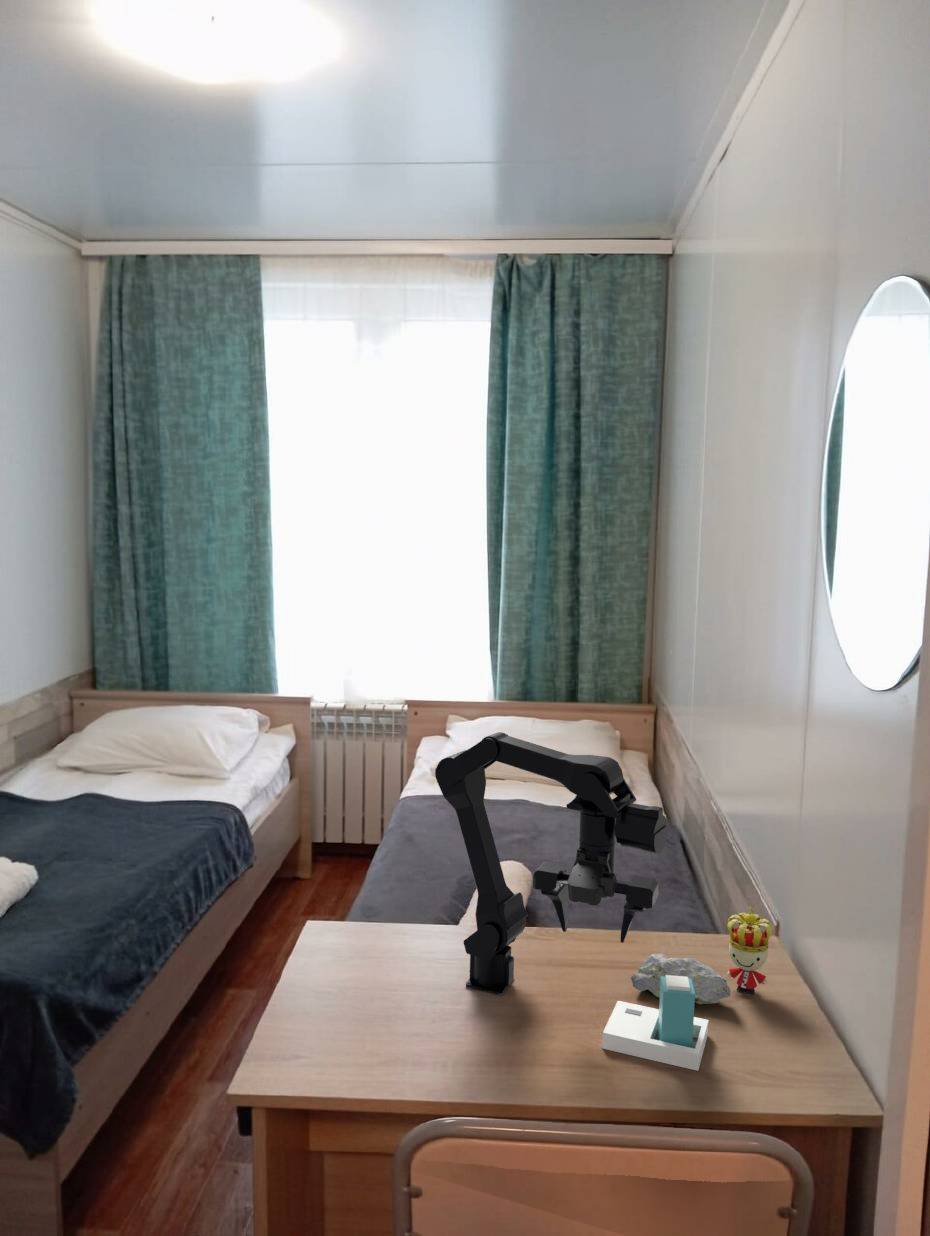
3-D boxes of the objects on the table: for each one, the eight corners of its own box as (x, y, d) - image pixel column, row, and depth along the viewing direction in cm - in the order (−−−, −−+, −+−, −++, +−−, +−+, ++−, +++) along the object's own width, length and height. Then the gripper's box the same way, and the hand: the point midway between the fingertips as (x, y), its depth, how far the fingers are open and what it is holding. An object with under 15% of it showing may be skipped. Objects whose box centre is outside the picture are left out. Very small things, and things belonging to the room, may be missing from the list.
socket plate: (602, 1048, 141) (602, 1031, 141) (617, 1015, 150) (617, 999, 150) (698, 1070, 136) (699, 1053, 136) (707, 1035, 145) (708, 1019, 145)
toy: (720, 996, 157) (726, 909, 155) (726, 976, 164) (731, 893, 162) (766, 1005, 154) (771, 917, 153) (769, 985, 161) (775, 900, 159)
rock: (735, 997, 157) (737, 958, 156) (727, 1018, 151) (730, 978, 150) (642, 976, 164) (643, 939, 163) (631, 995, 157) (633, 956, 156)
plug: (660, 1052, 140) (663, 987, 138) (657, 1035, 144) (660, 972, 143) (691, 1054, 139) (695, 989, 138) (688, 1037, 143) (691, 974, 142)
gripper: (523, 847, 143) (520, 946, 145) (647, 867, 136) (642, 971, 138) (545, 825, 153) (542, 917, 155) (661, 842, 147) (656, 939, 148)
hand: (593, 936), depth 149 cm, fingers open, 9 cm apart
